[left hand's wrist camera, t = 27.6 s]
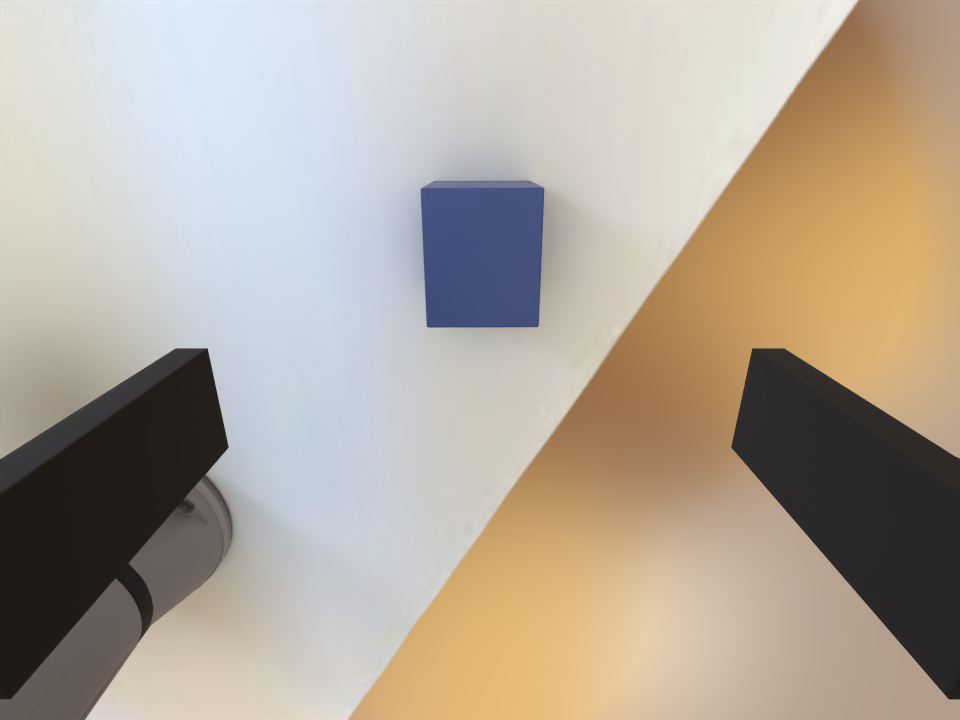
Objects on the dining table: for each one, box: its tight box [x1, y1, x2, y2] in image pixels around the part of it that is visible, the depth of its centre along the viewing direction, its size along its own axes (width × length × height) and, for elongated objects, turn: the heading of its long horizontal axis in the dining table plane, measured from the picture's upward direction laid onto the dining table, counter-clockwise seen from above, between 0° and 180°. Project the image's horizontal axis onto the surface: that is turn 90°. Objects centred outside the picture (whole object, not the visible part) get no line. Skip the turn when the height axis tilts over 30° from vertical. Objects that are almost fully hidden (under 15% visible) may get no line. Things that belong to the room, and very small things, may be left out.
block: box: [421, 181, 544, 327], centre depth 32 cm, size 7×8×8 cm
